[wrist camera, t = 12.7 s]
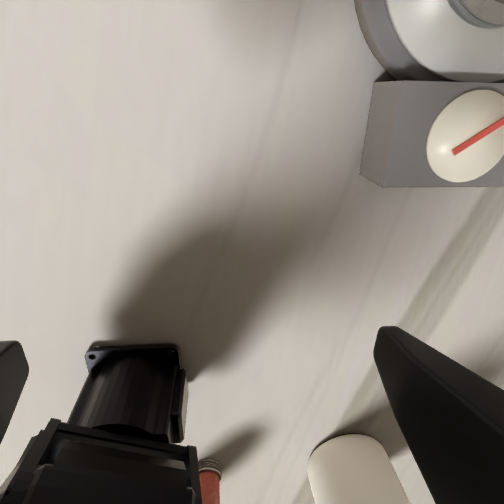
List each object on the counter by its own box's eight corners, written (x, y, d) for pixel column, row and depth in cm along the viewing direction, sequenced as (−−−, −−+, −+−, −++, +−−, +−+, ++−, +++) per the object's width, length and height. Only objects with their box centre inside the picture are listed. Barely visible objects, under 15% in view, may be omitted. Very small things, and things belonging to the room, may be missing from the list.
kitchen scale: (327, 174, 20) (348, 189, 17) (376, -247, 13) (427, -354, 10) (510, 173, 21) (561, 188, 18) (646, -214, 14) (767, -300, 11)
